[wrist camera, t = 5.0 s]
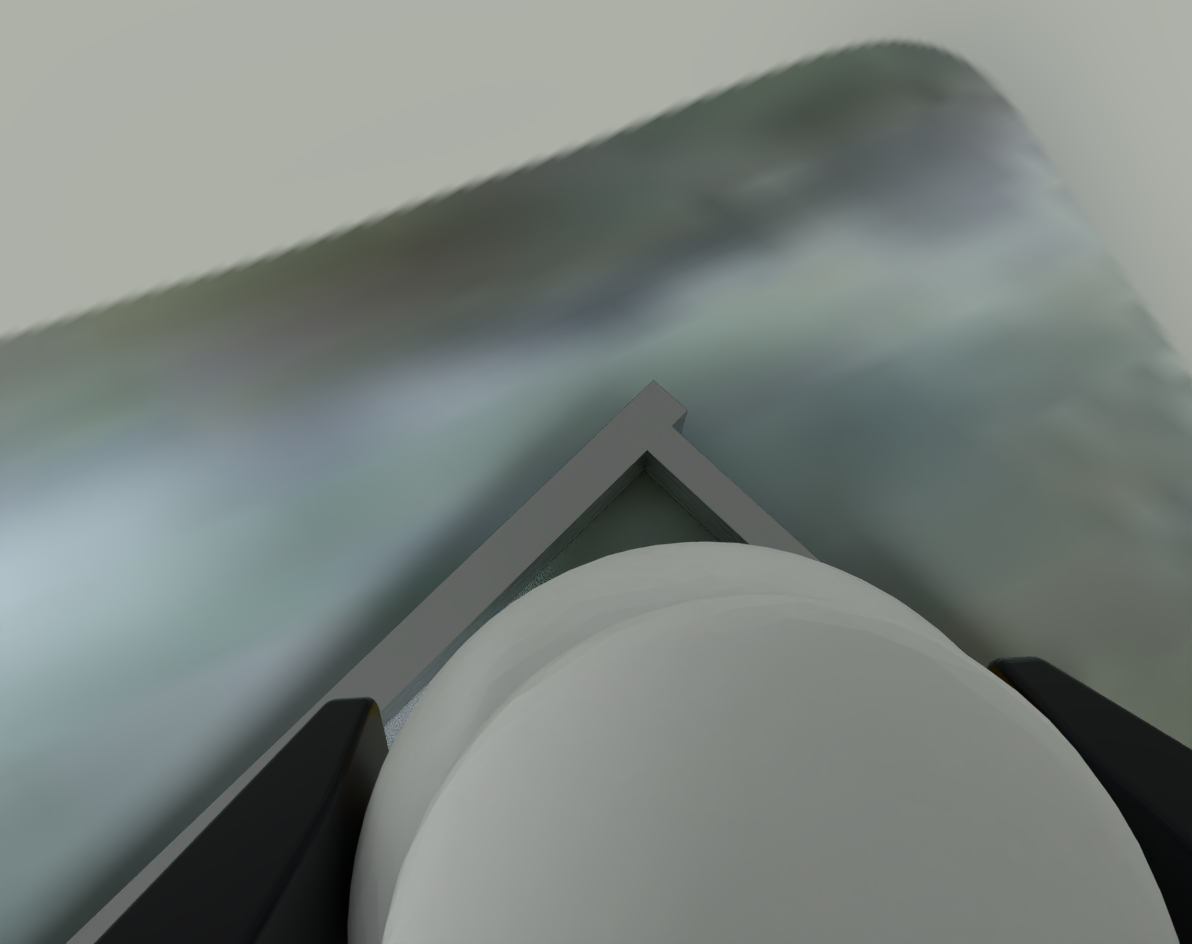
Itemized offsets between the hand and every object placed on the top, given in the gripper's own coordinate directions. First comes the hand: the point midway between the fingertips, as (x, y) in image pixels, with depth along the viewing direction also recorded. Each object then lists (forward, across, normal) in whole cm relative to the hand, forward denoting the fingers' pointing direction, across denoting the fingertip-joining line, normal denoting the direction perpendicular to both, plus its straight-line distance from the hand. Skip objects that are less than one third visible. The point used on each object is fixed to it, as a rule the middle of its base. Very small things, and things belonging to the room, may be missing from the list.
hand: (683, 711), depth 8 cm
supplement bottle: (+4, 0, +6) cm, 7 cm away
